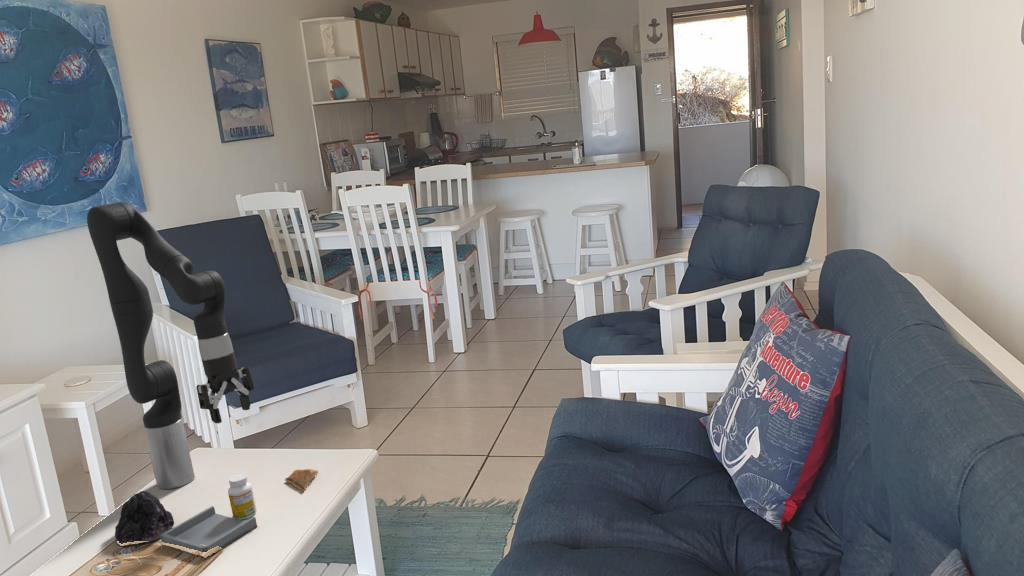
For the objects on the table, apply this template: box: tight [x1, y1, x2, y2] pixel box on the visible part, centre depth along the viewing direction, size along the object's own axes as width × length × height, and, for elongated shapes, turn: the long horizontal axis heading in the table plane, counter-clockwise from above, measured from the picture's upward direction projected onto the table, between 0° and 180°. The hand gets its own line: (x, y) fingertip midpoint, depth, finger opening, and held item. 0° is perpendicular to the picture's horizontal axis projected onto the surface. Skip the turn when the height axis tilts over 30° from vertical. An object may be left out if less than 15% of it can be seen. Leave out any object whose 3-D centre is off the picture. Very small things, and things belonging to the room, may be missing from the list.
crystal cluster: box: [114, 490, 175, 544], centre depth 184 cm, size 13×14×10 cm
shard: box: [284, 468, 319, 492], centre depth 202 cm, size 11×8×2 cm
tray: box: [160, 505, 258, 552], centre depth 180 cm, size 16×14×2 cm
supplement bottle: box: [227, 473, 257, 521], centre depth 187 cm, size 5×5×10 cm
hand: (232, 416), depth 194 cm, fingers open, 8 cm apart
